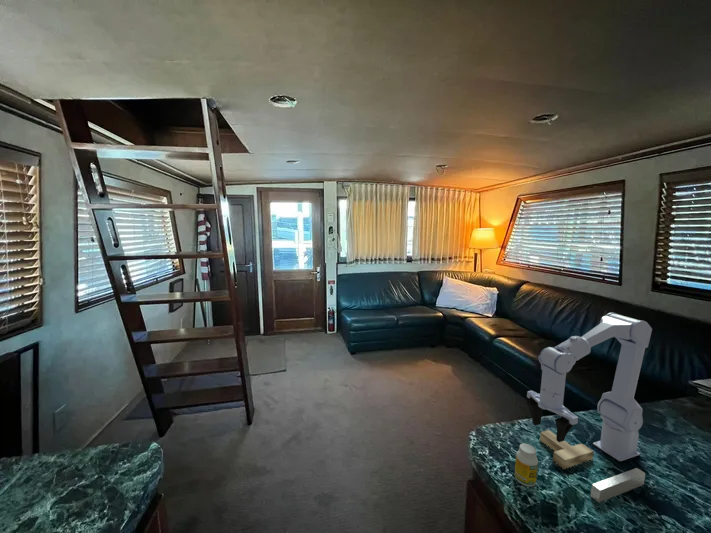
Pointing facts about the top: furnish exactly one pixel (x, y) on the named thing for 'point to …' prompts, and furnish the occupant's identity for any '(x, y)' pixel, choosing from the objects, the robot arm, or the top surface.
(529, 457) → the supplement bottle
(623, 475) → the rail
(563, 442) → the maple t block
